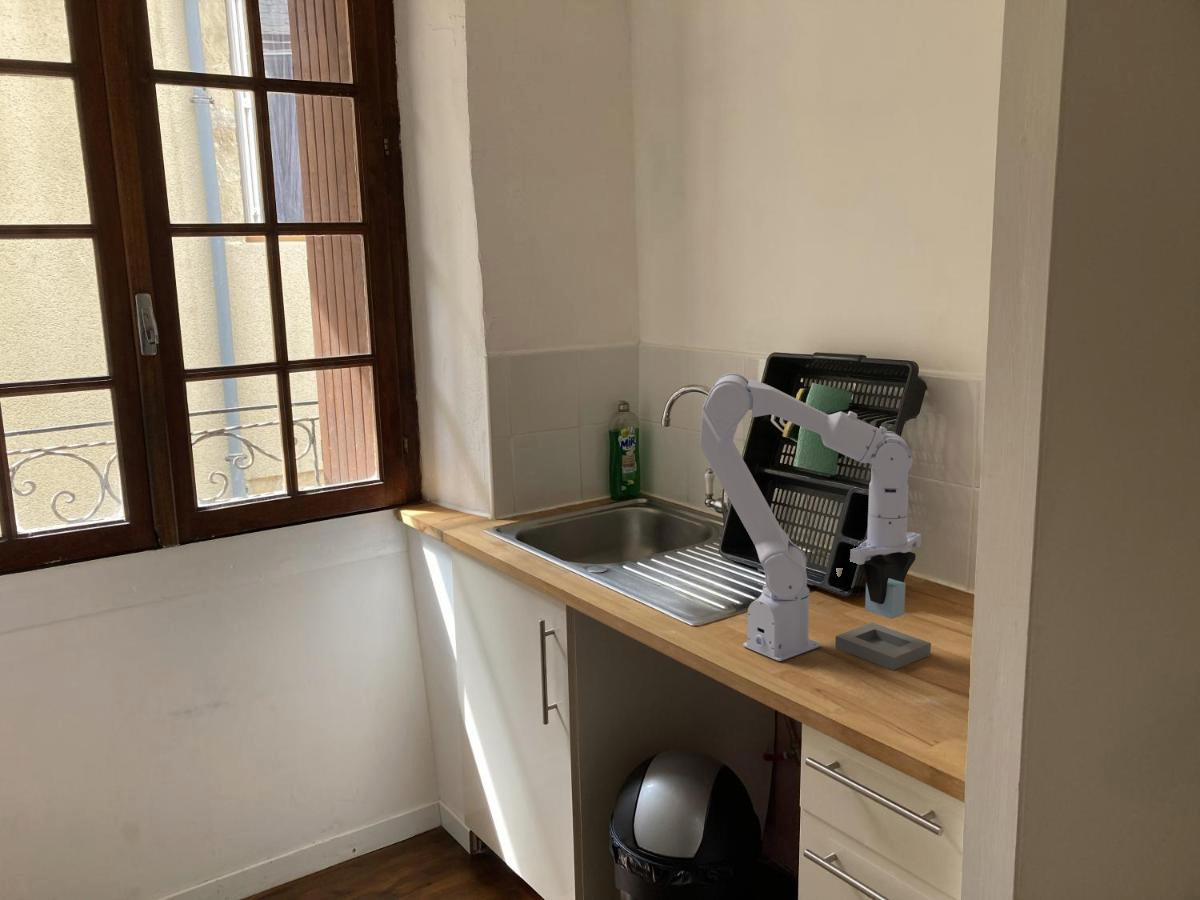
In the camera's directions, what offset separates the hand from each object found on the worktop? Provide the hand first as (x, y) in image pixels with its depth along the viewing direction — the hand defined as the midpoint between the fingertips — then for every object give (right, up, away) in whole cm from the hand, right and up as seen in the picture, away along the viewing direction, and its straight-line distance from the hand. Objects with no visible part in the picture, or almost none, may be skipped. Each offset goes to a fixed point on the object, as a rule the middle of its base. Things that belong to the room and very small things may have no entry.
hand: (884, 599), depth 153 cm
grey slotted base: (0, -8, +2) cm, 8 cm away
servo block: (0, -2, 0) cm, 2 cm away
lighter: (+2, -3, +31) cm, 32 cm away
